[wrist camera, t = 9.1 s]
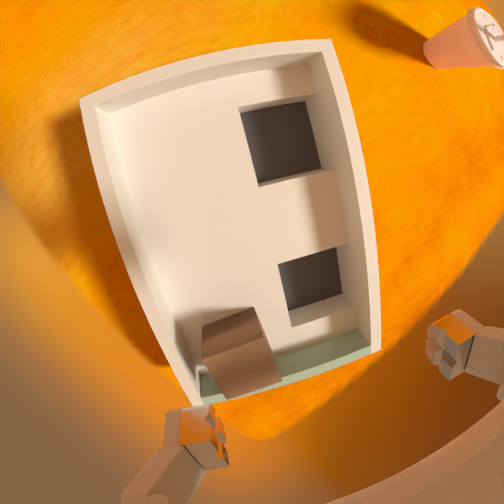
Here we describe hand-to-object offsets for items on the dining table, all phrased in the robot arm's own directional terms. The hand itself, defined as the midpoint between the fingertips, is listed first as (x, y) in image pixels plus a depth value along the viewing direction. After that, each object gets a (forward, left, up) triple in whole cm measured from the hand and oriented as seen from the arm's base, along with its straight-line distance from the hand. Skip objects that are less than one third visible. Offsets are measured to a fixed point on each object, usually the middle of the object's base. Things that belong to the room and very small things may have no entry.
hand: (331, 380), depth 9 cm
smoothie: (-16, +25, -17) cm, 34 cm away
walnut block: (+6, -4, -14) cm, 16 cm away
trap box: (-2, -1, -17) cm, 17 cm away
